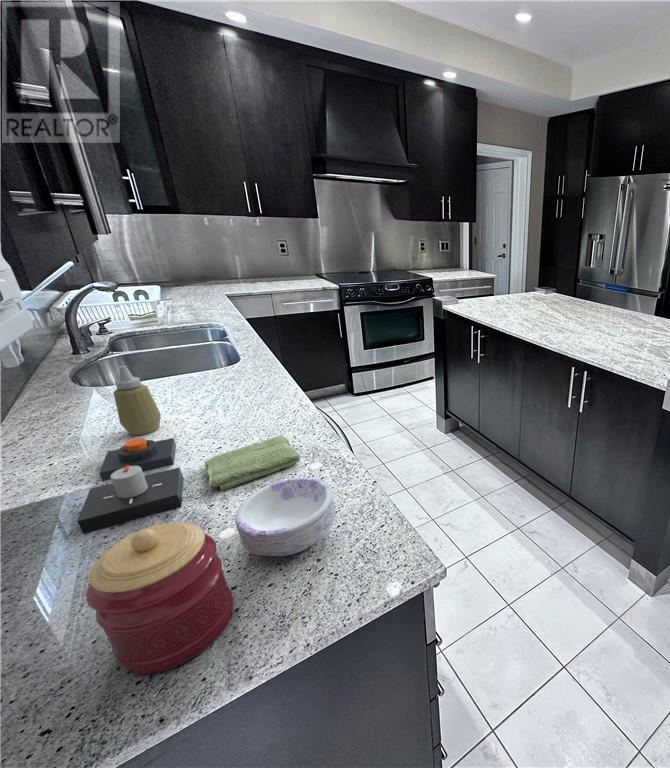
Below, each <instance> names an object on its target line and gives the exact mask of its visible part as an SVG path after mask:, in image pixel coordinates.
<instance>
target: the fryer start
mask: <svg viewBox="0 0 670 768" xmlns="http://www.w3.org/2000/svg"><path fill="white" fill-rule="evenodd" d="M146 440H147V439H145V438H143V437H138V438H132V439H129V440H128V441H126V442H124V444H123V446H125V448H126V451H127V452H136V451H140V450H142V449H145V448H146V447H147V443H146Z"/></svg>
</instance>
